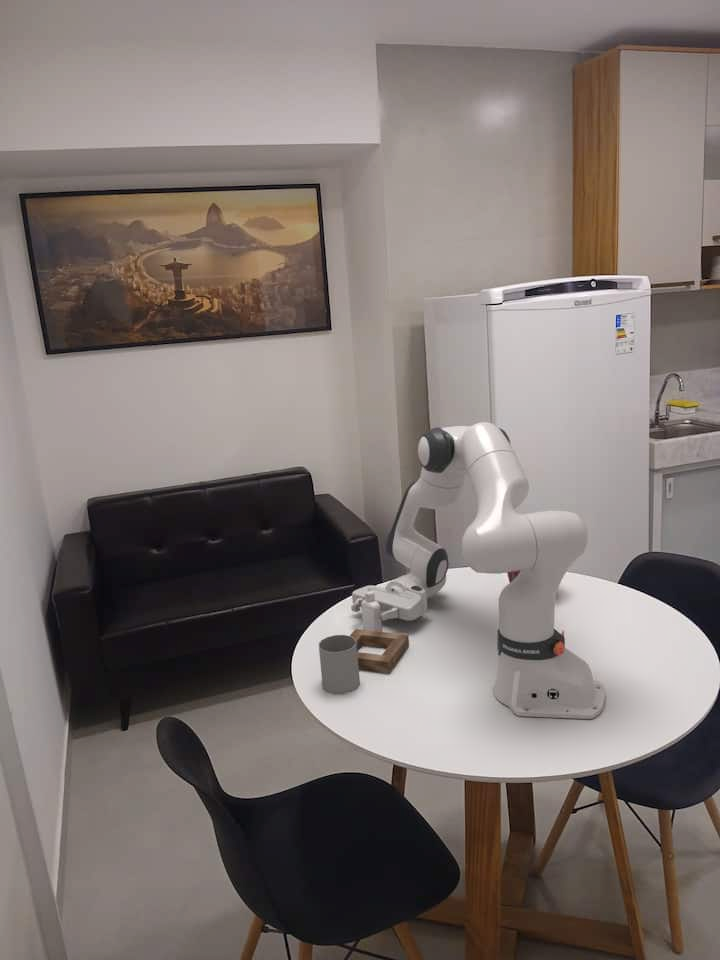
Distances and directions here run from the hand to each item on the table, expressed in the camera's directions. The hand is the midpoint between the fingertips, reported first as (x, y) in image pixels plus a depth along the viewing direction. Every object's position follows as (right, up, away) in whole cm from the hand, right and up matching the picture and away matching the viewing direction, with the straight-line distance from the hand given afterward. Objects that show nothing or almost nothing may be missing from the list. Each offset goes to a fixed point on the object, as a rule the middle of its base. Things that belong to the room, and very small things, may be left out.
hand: (366, 613), depth 185 cm
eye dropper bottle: (+2, -5, +3) cm, 6 cm away
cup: (-6, -12, -23) cm, 26 cm away
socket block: (+1, -8, -11) cm, 14 cm away
